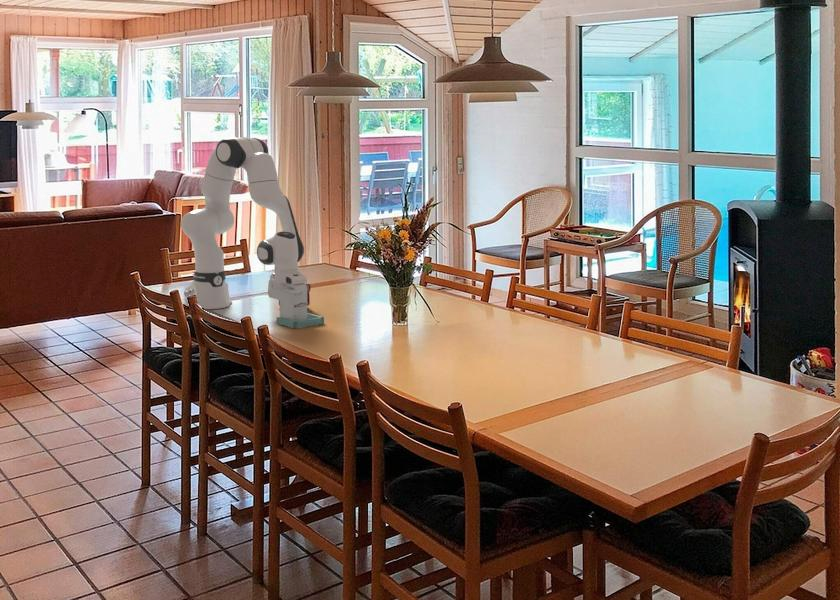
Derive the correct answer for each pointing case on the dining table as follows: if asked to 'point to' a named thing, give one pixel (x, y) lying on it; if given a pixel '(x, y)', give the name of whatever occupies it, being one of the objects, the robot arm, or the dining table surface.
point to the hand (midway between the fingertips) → (287, 312)
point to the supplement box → (293, 305)
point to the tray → (310, 321)
